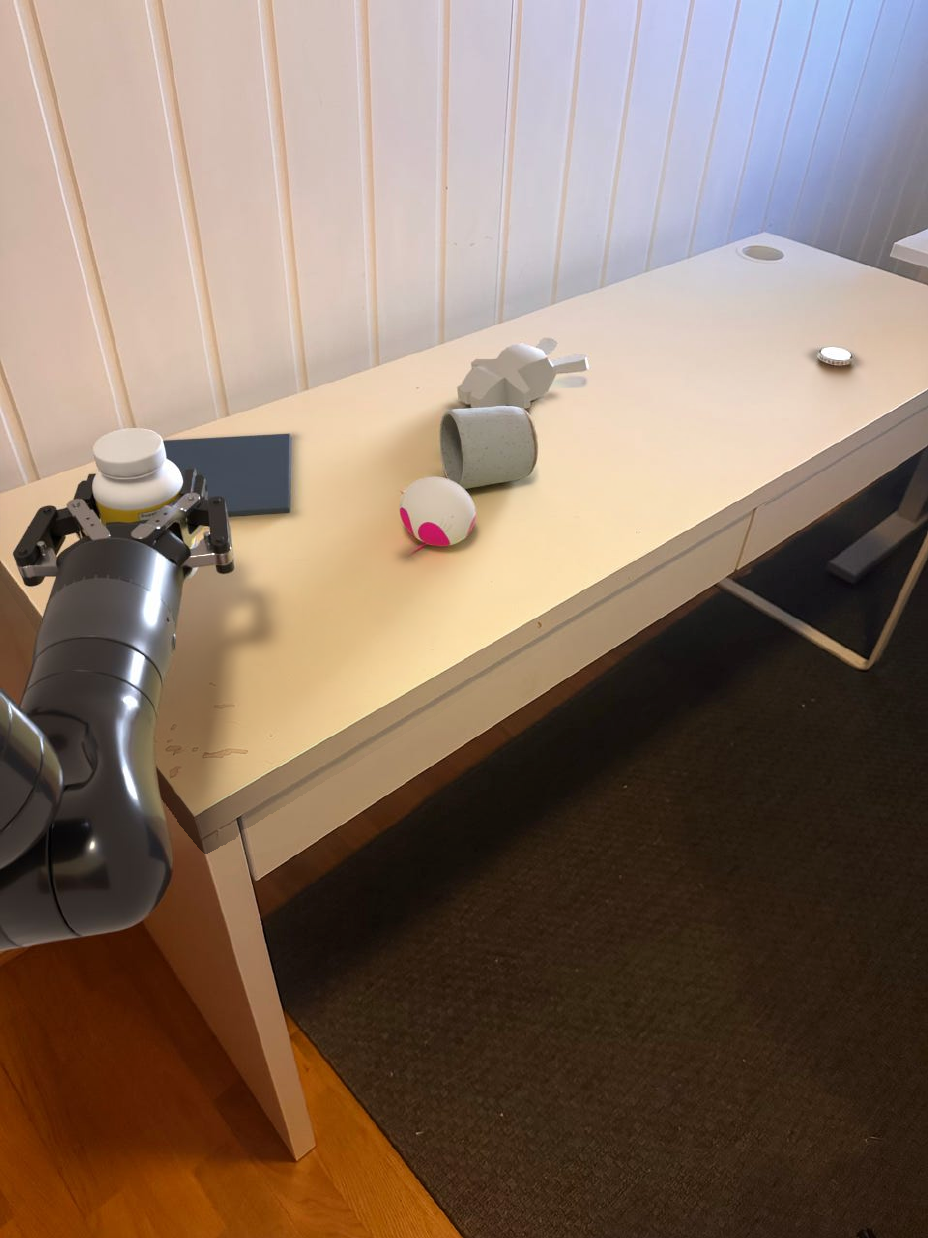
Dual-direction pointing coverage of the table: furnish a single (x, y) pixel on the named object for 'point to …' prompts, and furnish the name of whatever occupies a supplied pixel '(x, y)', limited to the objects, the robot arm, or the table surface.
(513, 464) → the ceramic mug
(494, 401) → the bunny figurine
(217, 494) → the mat
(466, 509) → the stress ball
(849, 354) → the white bottle cap
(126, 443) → the pill bottle
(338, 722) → the table surface
